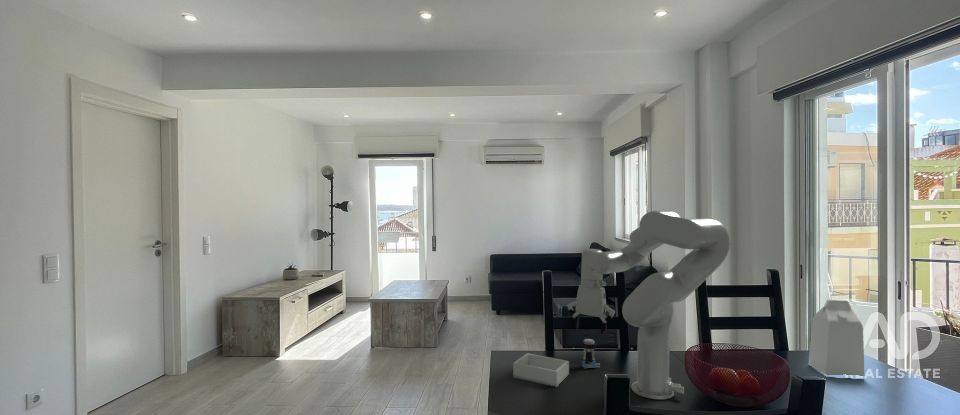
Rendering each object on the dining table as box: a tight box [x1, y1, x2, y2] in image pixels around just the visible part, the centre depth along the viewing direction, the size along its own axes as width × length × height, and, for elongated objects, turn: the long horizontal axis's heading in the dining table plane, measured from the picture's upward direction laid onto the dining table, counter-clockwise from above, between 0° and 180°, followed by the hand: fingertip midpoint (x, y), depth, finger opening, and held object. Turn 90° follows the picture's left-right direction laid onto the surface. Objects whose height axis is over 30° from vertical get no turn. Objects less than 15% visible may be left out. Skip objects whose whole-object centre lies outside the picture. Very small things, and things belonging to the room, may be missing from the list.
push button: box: [581, 338, 601, 369], centre depth 168 cm, size 7×5×10 cm
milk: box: [808, 298, 866, 376], centre depth 165 cm, size 12×12×26 cm
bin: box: [512, 352, 570, 388], centre depth 159 cm, size 16×12×5 cm
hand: (589, 330), depth 168 cm, fingers open, 9 cm apart
